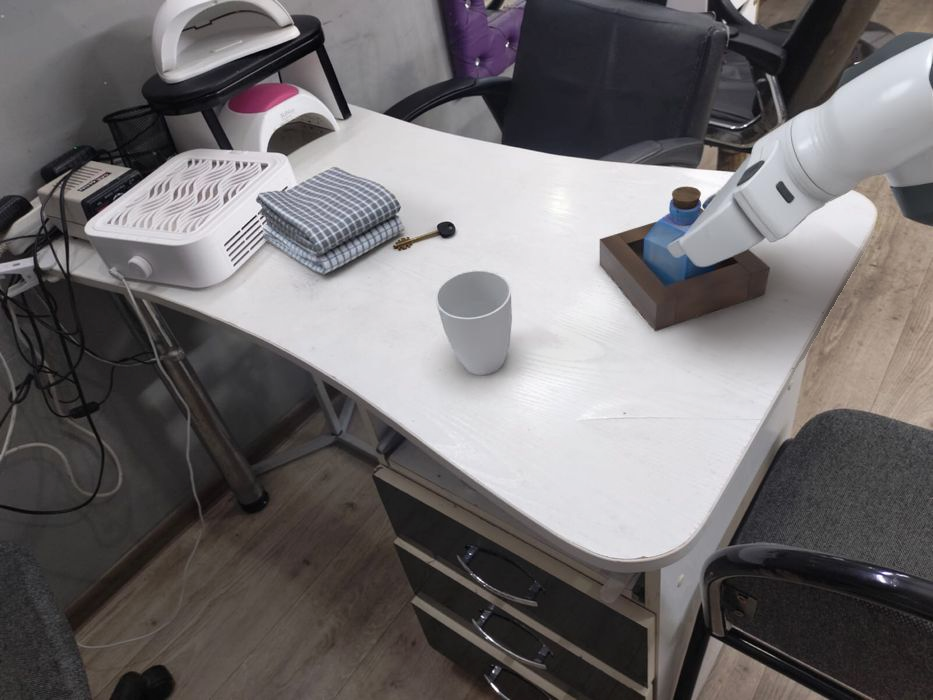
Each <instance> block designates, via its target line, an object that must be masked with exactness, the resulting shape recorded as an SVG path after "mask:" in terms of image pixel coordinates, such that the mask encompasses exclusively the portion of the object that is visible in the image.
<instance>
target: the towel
mask: <svg viewBox="0 0 933 700" xmlns="http://www.w3.org/2000/svg"><path fill="white" fill-rule="evenodd" d="M255 201H256V203H257V204H259V205H260V206H261V208H260V210H259V211H258V213H259V214H260V215H261V216H262V217H264V218H265V222H266V223H265V225H264V226H263V227H262V230H263V232H262V235H263V236H262V238H263V239H264V240H265V241H266V242H267V243H269V244H271V245H272V246H273V247H276V249H279V250H280V251H281V252H283V253H284V254H285V255H287V256H289V258H291V259H293V260H294V261H297V262H298V263H299V264H301V265H302V266H305V267H306V268H308V269H310V270H311V271H313V272H314V273H317V274H321V275H326V274H328V273H330V272H332V271H334V270H336V269H338V268H341V267H342V266H344V265H346V264H348V263H349V262H352V261H354V260H355V259H356V258H358V257H360V256H362V255H363V254H365V253H367V252H368V251H370V250H373V249H374V248H375V247H378V246H379V245H381V244H383V243H384V242H386V241H389V240H391V239H392V238H394V237H396V236H397V235H398V234H401V233H402V232H404V231H405V227H404V225H403V222H402V218H401V216H400V215H398V213H399V212H400V211H401V208H402V206H401V204H400V202H399V201H398V200H397V198H396V196H395V194H393V193H392V192H391V191H390V190H389V189H387V188H386V187H385V186H384V185H382V184H380V183H378V182H376V181H373V180H370V179H367V178H365V177H361V176H357V175H356V174H355V175H354V174H352V173H350V172H348V171H345V170H343V169H341V168H339V167H337V166H333V167H330V168H329V169H327V170H323V172H320V173H317V174H316V175H314V176H312V177H310V178H308V179H306V180H305V181H302V182H300V183H299V184H298V185H295V186H293V187H292V188H289V189H287V190H272V191H266V192H259V193H258V195H257V197H256V198H255Z"/></svg>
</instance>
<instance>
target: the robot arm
mask: <svg viewBox="0 0 933 700" xmlns="http://www.w3.org/2000/svg"><path fill="white" fill-rule="evenodd" d="M881 175H884V177H885V178H886V180H887V181H888V183H889V184H890V186H889V188H890V190H891V192H892V195H893V197H894V199H895V201H896V203H897V205H898V207H899V210H900V212H901V214H902V216H903V217H904V218H905V219H908V220H910V221H913V222H915V223H918V224H921V225H925V226H929V227H933V33H931V32H930V33H929V32H923V31H922V32H921V31H905V32H902V33H900V34H898V35H896V36H895V37H893V38H892V39H890V40H888V41H887V42H886V43H885V44H883V45H882V46H880V47H879V48H878V49H876V50H875V51H874V52H872V53H871V54H869V55H868V56H866V57H865V58H863V59H862V60H860V61H859V62H858V63H856V64H854V65H853V66H852V65H851V66H849V67H848V68H846V69H845V70H843V73H842V74H841V77H840V79H839V81H838V84H837V86H836V89H835V92H834V93H833V94H832V95H831V97H830V98H828V99H827V100H826V101H825V102H823V103H822V104H820V105H818V106H815V107H812V108H809V109H805V110H803V111H802V112H800V113H798V114H797V115H795V116H793V117H792V118H791V119H789V120H787V121H786V122H784V123H783V124H780V126H778V127H776V128H775V129H773V130H771V131H770V132H769V133H767V134H765V135H764V136H762V137H760V138H759V139H758V140H756V141H755V143H754V144H753V147H752V149H751V153H750V155H749V156H748V157H746V158H745V159H744V160H743V162H742V163H741V164H740V166H738V168H737V169H736V170H735V171H734V173H733V174H732V175H731V177H730V178H729V179H728V180H727V181H726V182H725V184H724V185H723V186H722V187H721V188H719V190H717V192H715V193H713V194H711V195H710V196H708V197H706V199H705V200H704V202H703V203H702V204H701V208H702V209H703V210H704V211H703V212H702V213H701V215H700V216H699V217H698V218H697V220H696V221H695V222H694V223H693V224H692V226H691V227H690V228H689V229H688V231H687V232H686V233H685V234H684V235H683V234H682V235H680V236H678V237H677V238H675V239H673V241H672V242H671V243H670V244H669V245H668V247H667V248H668V250H669V251H670V253H671V254H672V255H673V256H674V257H675V258H679V257H681V256H683V255H684V254H686V255H687V256H688V258H689V259H690V260H691V261H692V262H693V263H694V264H695V265H696V266H698V267H707V266H710V265H713V264H715V263H718V262H720V261H723V260H725V259H728V258H730V257H732V256H735V255H737V254H739V253H741V252H744V251H746V250H748V249H749V250H750V249H751V248H753V247H756V246H757V245H759V244H760V243H761V242H763V241H764V240H765V239H766V240H767V241H768V242H769V243H775V242H778V241H780V240H782V239H784V238H785V237H787V236H788V235H789V234H791V232H793V231H794V230H796V228H798V226H799V225H800V224H801V223H802V222H803V221H804V220H806V218H807V217H809V216H810V215H811V214H813V213H815V212H816V211H818V210H820V209H823V208H824V207H825V206H826V204H828V203H830V202H832V201H834V200H836V199H838V198H840V197H842V196H844V195H846V194H848V193H849V192H851V191H853V190H854V189H855V188H856V187H857V186H858V185H859V184H860V183H862V182H864V181H865V180H867V179H869V178H872V177H875V176H876V177H877V176H881Z"/></svg>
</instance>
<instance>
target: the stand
mask: <svg viewBox="0 0 933 700" xmlns="http://www.w3.org/2000/svg"><path fill="white" fill-rule="evenodd" d="M703 211H704V209H703V207H701V210H700V214H701V213H702V212H703ZM658 221H659V220H657V221H654V222H650V223H647V224H644V225H641V226H638V227H637V226H636V227H635V228H631V229H627V230H625V231H622V232H618V233H614V234H611V235H608V236H605V237H602V238H599V265H600V267H601V268H602V269H603V270H604V271H605V273H606V274H607V275H608V276H609V277H610V279H611V280H612V281H613V282H614V284H616V286H617V287H618V288H619V290H620V291H621V292H622V293H623V295H624V296H625V297H626V298H627V299H628V300H629V302H630V303H631V304H632V305H633V307H634V308H635V310H637V311H638V312H639V314H640V315H641V316H642V318H643V319H644V320H645V321H646V323H648V325H649V326H650V327H651V328H652V330H653V331H656V332H657V331H659V330H661V329H664V328H668V327H671V326H674V325H677V324H680V323H683V322H685V321H688V320H691V319H695V318H699V317H701V316H704V315H707V314H710V313H713V312H716V311H719V310H722V309H725V308H728V307H732V306H734V305H737V304H740V303H743V302H746V301H749V300H752V299H755V298H758V297H761V296H764V295H765V294H766V290H767V284H768V280H769V275H770V271H771V267H770V266H769V265H767V263H765V262H764V261H763V260H762V259H761V258H759V257H758V256H757V255H756V254H755V253H753V251H752V250H750V249H748V250H746V251H744V252H741V253H739V254H737V255H735V256H732V257H730V258H728V259H725V260H723V261H720V262H718V263H716V268H715V271H711V272H708V273H705V274H702V275H699V276H696V277H693V278H690V279H687V280H684V281H680V282H677V283H674V284H671V285H668V286H665V285H664V284H663V283H662V282H661V281H660V280H659V279H658V278H657V277H656V275H655V274H654V273H653V272H652V271H651V270H650V269H649V268H648V267H647V266H646V264H645V263H644V262H643V254H644V238H645V237H646V235H647V234H648V233H649V232H650V230H651V229H652V228H653V227H654V225H655V224H656V223H657V222H658Z"/></svg>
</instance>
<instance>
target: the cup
mask: <svg viewBox="0 0 933 700" xmlns="http://www.w3.org/2000/svg"><path fill="white" fill-rule="evenodd" d="M511 289H512V288H511V285H510V283H509V281H508V280H507V279H506V278H505V277H504V276H503V275H501V274H499V273H497V272H494V271H490V270H483V269H482V270H481V269H475V270H467V271H463V272H459V273H457V274H455V275H452V276H451V277H449V278H448V279H446V280H445V281H444V282H443V283H442V284H440V285H439V287H438V289H437V290H436V294H435V304H436V307H437V310H438V314H439V317H440V320H441V324H442V328H443V330H444V333H445V335H446V337H447V340H448V343H449V344H450V347H451V349H452V351H453V353H454V355H455V357H456V359H458V361H459V362H460V364H461V365H462V366H463V368H464V369H465V370H466V371H467V372H469V373H470V374H472V375H476V376H477V375H478V376H485V375H490V374H493V373H495V372H497V371H498V370H500V369H501V368H502V367H503V365H504V364H505V361H506V358H507V355H508V352H509V348H510V345H511V344H510V343H511V335H512V323H513V312H512V311H513V310H512V309H513V308H512V290H511Z"/></svg>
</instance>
